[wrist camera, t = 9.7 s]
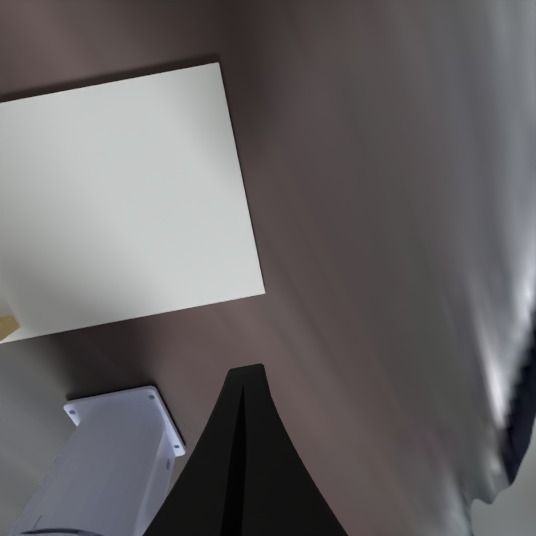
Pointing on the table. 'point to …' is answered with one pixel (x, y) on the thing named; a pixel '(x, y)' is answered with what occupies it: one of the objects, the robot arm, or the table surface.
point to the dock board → (121, 204)
